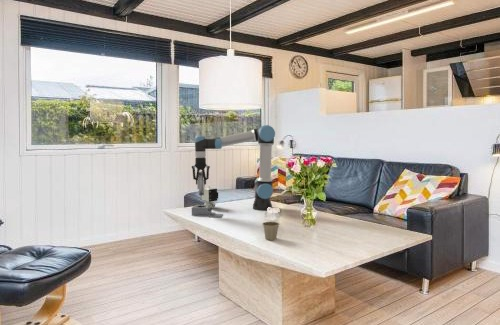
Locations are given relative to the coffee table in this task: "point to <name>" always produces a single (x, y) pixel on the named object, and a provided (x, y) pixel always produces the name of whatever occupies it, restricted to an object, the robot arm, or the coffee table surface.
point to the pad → (216, 215)
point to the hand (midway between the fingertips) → (201, 188)
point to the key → (201, 183)
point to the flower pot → (270, 230)
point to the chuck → (201, 210)
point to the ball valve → (210, 196)
